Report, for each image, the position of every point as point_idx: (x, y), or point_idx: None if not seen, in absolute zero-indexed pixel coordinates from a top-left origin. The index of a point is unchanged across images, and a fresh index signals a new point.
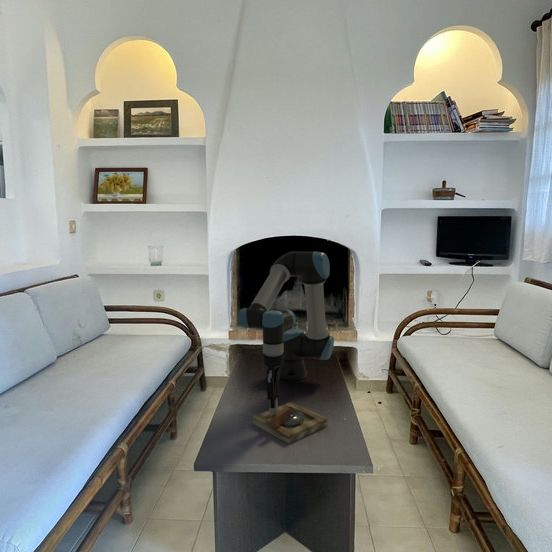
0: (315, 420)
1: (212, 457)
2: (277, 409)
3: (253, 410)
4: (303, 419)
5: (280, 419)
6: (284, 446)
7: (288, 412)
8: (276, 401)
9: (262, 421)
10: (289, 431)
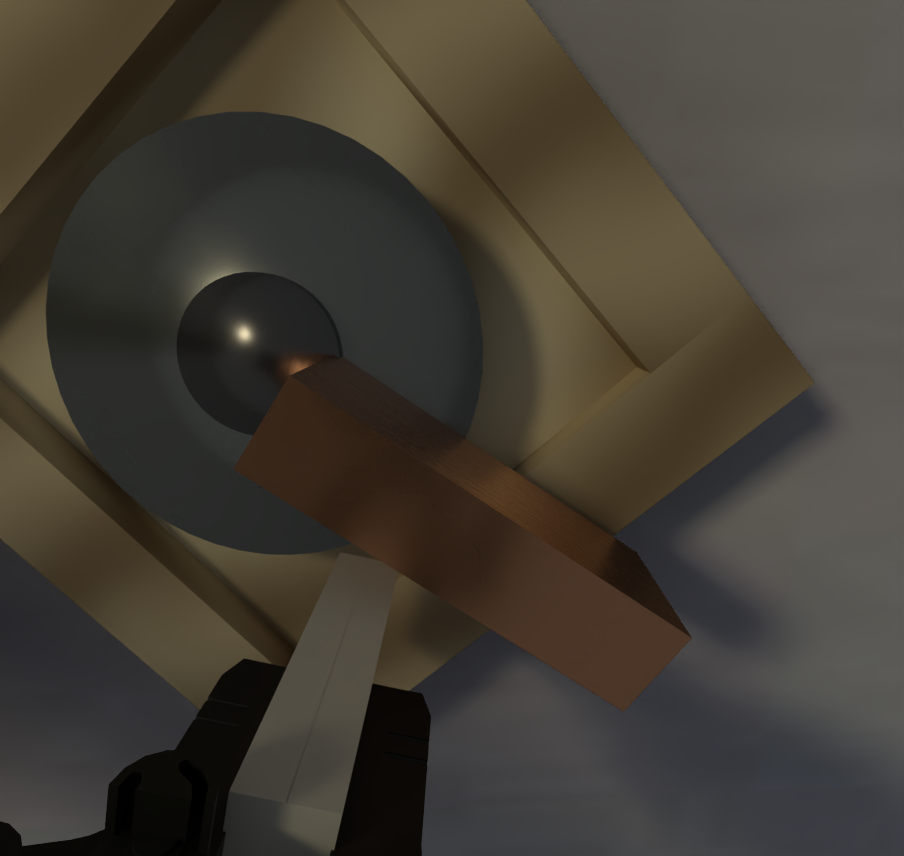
0: None
1: None
2: (322, 597)
3: (12, 717)
4: (345, 138)
5: (557, 522)
6: (789, 410)
7: (357, 399)
8: (352, 762)
9: (408, 685)
10: (686, 367)
